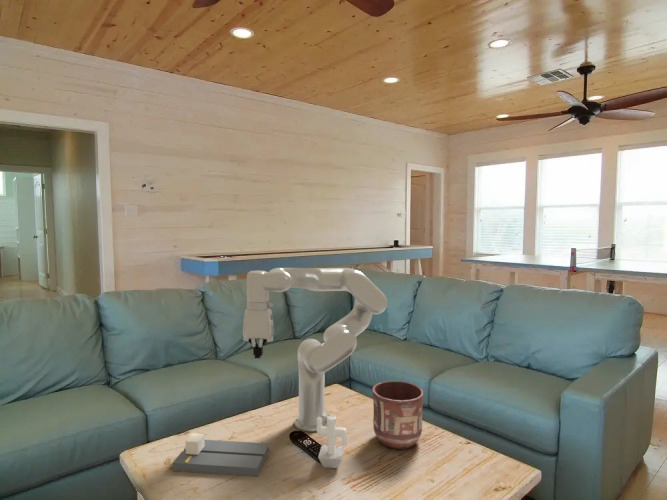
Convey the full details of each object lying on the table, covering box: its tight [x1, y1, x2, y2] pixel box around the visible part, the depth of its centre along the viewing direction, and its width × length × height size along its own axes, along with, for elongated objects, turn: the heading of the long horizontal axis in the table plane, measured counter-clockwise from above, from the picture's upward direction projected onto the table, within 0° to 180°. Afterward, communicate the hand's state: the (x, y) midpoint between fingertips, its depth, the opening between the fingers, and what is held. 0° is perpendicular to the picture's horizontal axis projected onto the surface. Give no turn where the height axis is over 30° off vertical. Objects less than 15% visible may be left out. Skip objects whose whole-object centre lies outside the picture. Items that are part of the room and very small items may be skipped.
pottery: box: [371, 380, 425, 450], centre depth 143 cm, size 18×18×18 cm
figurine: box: [316, 414, 348, 469], centre depth 129 cm, size 7×9×15 cm
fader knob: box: [184, 432, 205, 455], centre depth 132 cm, size 4×5×5 cm
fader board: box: [171, 439, 270, 477], centre depth 131 cm, size 26×14×3 cm, turn 85°
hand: (258, 357), depth 148 cm, fingers closed
